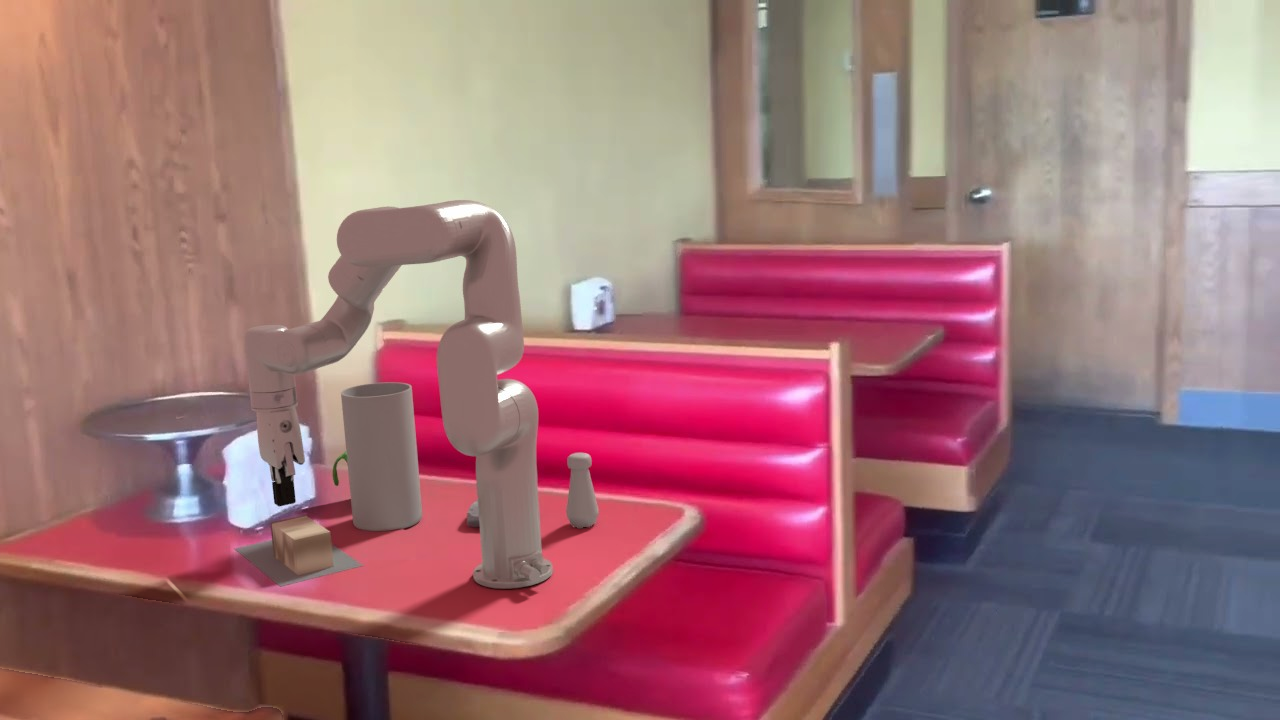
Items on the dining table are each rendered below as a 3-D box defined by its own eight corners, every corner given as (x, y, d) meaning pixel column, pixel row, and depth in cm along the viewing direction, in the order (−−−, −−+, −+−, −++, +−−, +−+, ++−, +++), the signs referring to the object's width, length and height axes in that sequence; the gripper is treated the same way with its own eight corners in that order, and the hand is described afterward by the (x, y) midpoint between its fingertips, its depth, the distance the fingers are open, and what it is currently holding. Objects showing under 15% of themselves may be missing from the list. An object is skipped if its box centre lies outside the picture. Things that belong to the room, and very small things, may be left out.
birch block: (308, 548, 213) (333, 566, 204) (273, 556, 210) (298, 575, 200) (304, 515, 212) (330, 531, 203) (270, 522, 209) (294, 540, 199)
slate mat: (363, 567, 204) (363, 565, 203) (280, 588, 196) (280, 586, 196) (312, 532, 223) (311, 530, 223) (234, 550, 215) (234, 548, 215)
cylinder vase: (340, 524, 227) (327, 391, 222) (397, 507, 236) (386, 379, 231) (378, 538, 218) (365, 400, 214) (436, 520, 227) (425, 387, 222)
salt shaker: (605, 522, 221) (601, 451, 219) (588, 531, 216) (584, 460, 214) (578, 518, 224) (574, 448, 222) (560, 527, 219) (556, 456, 217)
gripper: (311, 402, 203) (322, 509, 207) (281, 389, 215) (291, 490, 219) (266, 409, 199) (277, 518, 203) (238, 396, 211) (249, 499, 215)
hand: (285, 503), depth 211 cm, fingers closed
